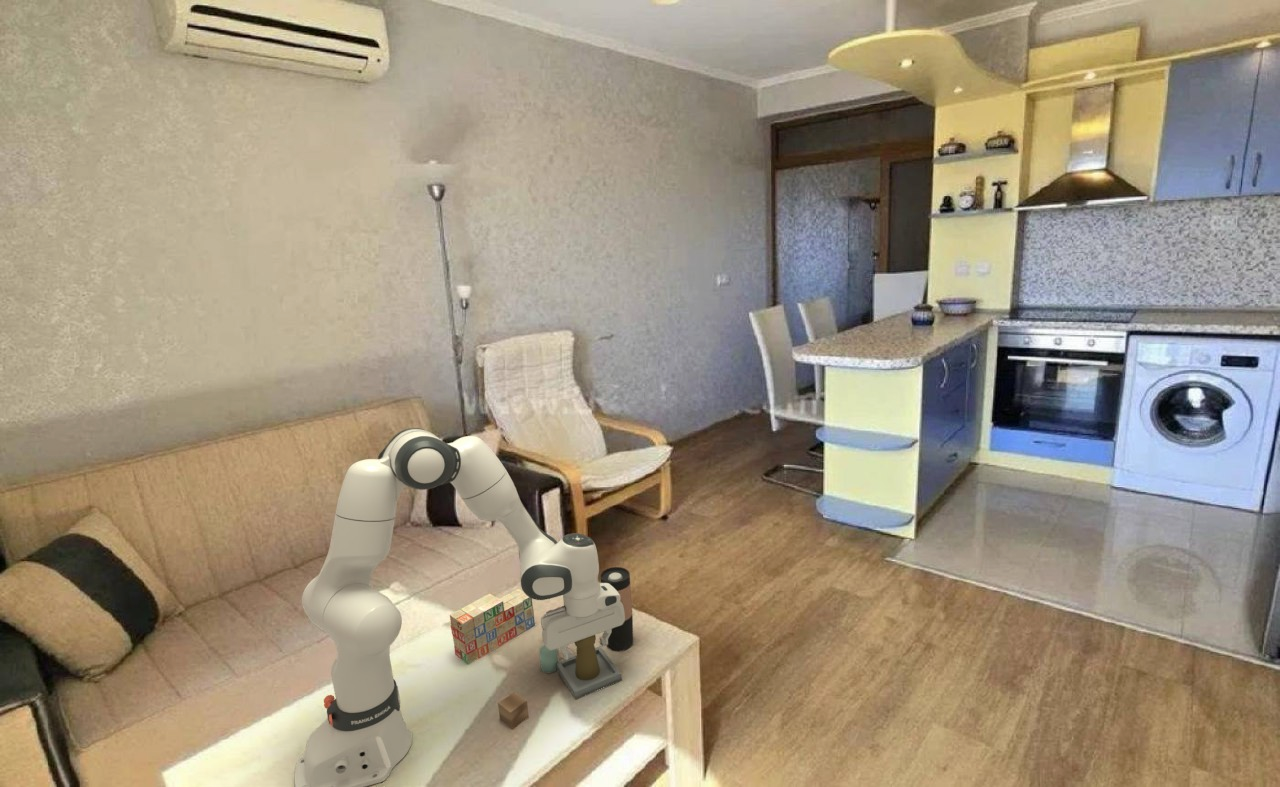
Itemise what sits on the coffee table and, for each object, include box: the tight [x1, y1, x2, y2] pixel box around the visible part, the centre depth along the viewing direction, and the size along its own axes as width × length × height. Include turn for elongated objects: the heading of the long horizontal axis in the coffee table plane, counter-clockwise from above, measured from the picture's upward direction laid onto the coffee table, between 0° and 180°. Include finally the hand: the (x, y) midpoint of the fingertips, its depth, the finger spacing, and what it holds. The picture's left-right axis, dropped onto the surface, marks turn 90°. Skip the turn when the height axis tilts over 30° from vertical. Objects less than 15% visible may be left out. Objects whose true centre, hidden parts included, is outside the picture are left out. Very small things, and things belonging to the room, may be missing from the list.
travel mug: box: [600, 566, 634, 652], centre depth 160 cm, size 8×8×20 cm
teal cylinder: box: [539, 644, 559, 674], centre depth 154 cm, size 4×4×5 cm
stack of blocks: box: [449, 588, 536, 665], centre depth 165 cm, size 21×6×12 cm, turn 137°
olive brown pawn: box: [574, 635, 600, 680], centre depth 150 cm, size 6×6×11 cm
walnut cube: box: [497, 691, 529, 730], centre depth 138 cm, size 4×4×4 cm
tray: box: [556, 645, 623, 700], centre depth 151 cm, size 12×12×2 cm
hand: (586, 651), depth 149 cm, fingers open, 8 cm apart
